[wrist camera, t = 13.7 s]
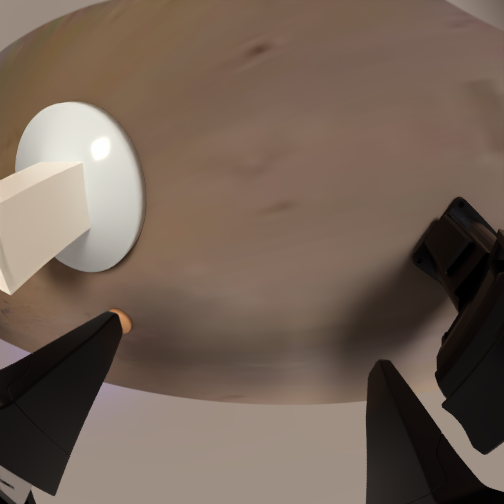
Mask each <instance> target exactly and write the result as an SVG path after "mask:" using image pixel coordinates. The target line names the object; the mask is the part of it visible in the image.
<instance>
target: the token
mask: <svg viewBox="0 0 504 504" xmlns="http://www.w3.org/2000/svg"><path fill="white" fill-rule="evenodd" d="M109 311H112V312H115V313H117V314H118V315H119V318H120V321H121V325H122V328H123V333H128V332H129V331H130V329H131V328H132V322H131V320H130V318H129V317H128V316H127V315H126V314H125V313H124V312H123V311H121V310H119V309H115V308H113V309H110V310H109Z"/></svg>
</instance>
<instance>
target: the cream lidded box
mask: <svg viewBox="0 0 504 504" xmlns="http://www.w3.org/2000/svg"><path fill="white" fill-rule="evenodd" d="M89 228H90V221H89V214H88V207H87V199H86V190H85V180H84V168H83V162H39V163H37V164H35V165H32V166H30V167H28V168H26V169H23V170H21V171H19V172H17V173H15V174H12V175H10V176H8V177H6V178H4V179H2V180H0V290H2V291H4V292H6V293H8V294H9V295H12V294H13V293H14V292H15V291H16V290H17V289H18V288H19V287H20V286H21V285H22V284H24V283H25V282H26V281H27V280H28V279H29V278H30V277H31V276H32V275H33V274H35V273H36V272H37V271H38V270H39V269H40V268H41V267H42V266H44V265H45V264H46V263H47V262H48V261H49V260H51V259H52V258H53V257H54V256H55V255H57V254H58V253H59V252H60V251H61V250H63V249H64V248H65V247H66V246H68V245H69V244H70V243H71V242H73V241H74V240H75V239H76V238H78V237H79V236H80V235H82V234H83V233H84V232H85V231H87V230H88V229H89Z"/></svg>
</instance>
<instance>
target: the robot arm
mask: <svg viewBox="0 0 504 504" xmlns="http://www.w3.org/2000/svg"><path fill="white" fill-rule="evenodd" d="M460 202H462V204H461V205H460V206H459V203H460ZM418 258H421V259H420V260H419V261H417V259H418ZM412 260H413V262H414V264H415V265H416V266H417V267H419V268H420V269H421V270H423V271H424V272H426V273H427V274H429V275H430V276H431V277H433V278H434V279H435V280H437V281H438V282H440V283H441V284H442V285H443V286H444V288H445V290H446V292H447V293H448V295H449V297H450V299H451V301H452V303H453V304H454V306H455V308H456V310H457V312H458V316H457V317H456V319H455V320H454V322H453V324H452V325H451V327H450V328H449V330H448V331H447V332H445V334H444V335H443V337H442V346H441V347H440V350H439V352H438V355H437V371H436V372H435V378H436V380H437V383H438V386H439V388H440V390H441V391H442V393H443V395H444V396H445V397H446V400H445V401H444V402H443V403H442V408H444V409H445V410H446V411H448V412H449V413H450V414H452V415H453V416H454V417H455V418H456V419H457V420H458V421H459V423H460V424H461V425H462V427H463V428H464V430H465V431H466V434H467V436H468V438H469V440H470V442H471V444H472V446H473V447H474V448H475V449H476V450H478V451H479V452H481V453H482V454H484V455H485V454H488V453H490V452H491V451H492V450H494V449H495V448H497V447H498V446H499V445H500V444H502V443H503V442H504V230H501V229H499V230H498V232H497V233H496V232H495V231H494V230H493V229H492V227H491V226H490V225H489V224H488V223H487V222H486V221H485V220H484V219H483V218H482V217H481V216H480V214H479V213H478V212H477V211H476V210H475V209H474V208H473V207H472V206H471V205H470V204H469V203H468V202H467V201H466V200H465V199H463V198H462V197H457V198H456V199H455V200H454V202H453V203H452V205H451V206H450V208H449V209H448V210H447V212H446V213H445V215H444V216H442V218H441V219H440V220H439V222H438V223H437V225H436V226H435V227H434V229H433V230H432V231H431V233H430V234H429V235H428V237H427V238H426V239H425V242H424V243H423V244H422V245H421V247H420V248H419V249H418V251H417V252H416V253H415V254H414V256H413V259H412ZM122 334H123V328H122V325H121V321H120V318H119V315H118V314H117V313H115V312H112V311H106V312H104V313H102V314H101V315H99V316H97V317H95V318H93V319H92V320H90V321H88V322H86V323H84V324H83V325H81V326H79V327H77V328H75V329H74V330H72V331H70V332H68V333H67V334H65V335H63V336H61V337H59V338H58V339H56V340H54V341H52V342H51V343H49V344H47V345H45V346H44V347H42V348H40V349H38V350H37V351H35V352H33V354H32V353H31V354H30V355H28V356H26V357H24V358H23V359H21V360H19V361H17V362H15V363H13V364H11V365H9V366H7V367H5V368H3V369H1V370H0V504H36V503H35V500H34V498H33V494H32V491H31V487H32V485H33V486H35V487H37V488H39V489H41V490H42V491H44V492H47V493H48V494H50V495H52V496H55V494H56V492H57V489H58V486H59V483H60V481H61V478H62V475H63V473H64V470H65V468H66V465H67V462H68V460H69V457H70V455H71V452H72V450H73V447H74V445H75V443H76V440H77V438H78V436H79V433H80V431H81V428H82V426H83V424H84V422H85V420H86V417H87V415H88V413H89V411H90V409H91V406H92V404H93V402H94V400H95V398H96V396H97V394H98V392H99V389H100V387H101V385H102V383H103V381H104V379H105V377H106V375H107V373H108V371H109V369H110V366H111V364H112V361H113V358H114V356H115V353H116V350H117V348H118V345H119V342H120V340H121V337H122ZM441 433H442V432H441V430H440V429H439V428H438V426H437V425H436V423H435V422H434V420H433V419H432V417H431V416H430V415H429V413H428V412H427V410H426V409H425V408H424V406H423V405H422V403H421V402H420V401H419V399H418V398H417V396H416V395H415V394H414V392H413V391H412V390H411V388H410V387H409V385H408V384H407V383H406V381H405V380H404V379H403V377H402V376H401V375H400V373H399V372H398V371H397V369H396V368H395V367H394V365H393V364H392V363H391V361H389V360H382V359H380V360H378V361H377V362H376V363H375V365H374V367H373V368H372V370H371V372H370V373H369V376H368V388H367V407H366V437H367V488H366V489H367V490H366V504H504V492H502V491H498V490H495V489H492V488H489V487H487V486H485V485H484V484H483V483H481V482H480V480H479V479H478V478H477V477H476V476H475V475H474V474H473V473H472V471H471V470H470V469H469V468H468V466H467V465H466V464H465V463H464V462H463V460H462V459H461V458H460V457H459V455H458V454H457V453H456V452H455V450H454V449H453V447H452V446H451V445H450V443H449V442H448V440H447V439H446V438H445V436H444V435H443V434H441Z"/></svg>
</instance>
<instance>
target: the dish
mask: <svg viewBox="0 0 504 504" xmlns="http://www.w3.org/2000/svg"><path fill="white" fill-rule="evenodd" d="M39 162H83V168H84V180H85V190H86V199H87V207H88V214H89V221H90V228H89V229H88V230H87V231H85V232H84V233H83V234H82V235H80V236H79V237H78V238H76V239H75V240H74V241H73V242H71V243H70V244H69V245H68V246H66V247H65V248H64V249H63V250H61V251H60V252H59V253H58V254H57V255H55V256H54V257H55V258H56V259H58V260H59V261H60V262H62V263H64V264H65V265H67V266H69V267H71V268H74V269H77V270H80V271H85V272H99V271H103V270H106V269H109V268H111V267H112V266H114V265H115V264H117V263H118V262H119V261H120V260H121V259H122V258H123V257H124V256H125V255H126V254H127V253H128V252H129V251H130V250H131V248H132V247H133V246H134V245H135V243H136V241H137V239H138V237H139V235H140V233H141V230H142V227H143V223H144V219H145V212H146V188H145V179H144V175H143V171H142V166H141V163H140V160H139V157H138V154H137V152H136V150H135V148H134V146H133V143H132V142H131V140H130V138H129V137H128V135H127V133H126V132H125V130H124V129H123V128H122V126H121V125H120V124H119V123H118V122H117V121H116V120H115V119H114V118H113V117H112V116H111V115H110V114H109V113H107V112H106V111H105V110H103V109H102V108H100V107H98V106H96V105H94V104H91V103H87V102H82V101H72V102H65V103H59V104H55V105H52V106H49V107H47V108H45V109H44V110H42V111H41V112H39V113H38V114H37V115H36V116H35V117H34V118H33V119H32V120H31V122H30V123H29V124H28V126H27V128H26V129H25V131H24V133H23V135H22V138H21V140H20V143H19V147H18V151H17V156H16V165H15V173H17V172H19V171H21V170H23V169H26V168H28V167H30V166H32V165H35V164H37V163H39Z"/></svg>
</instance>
